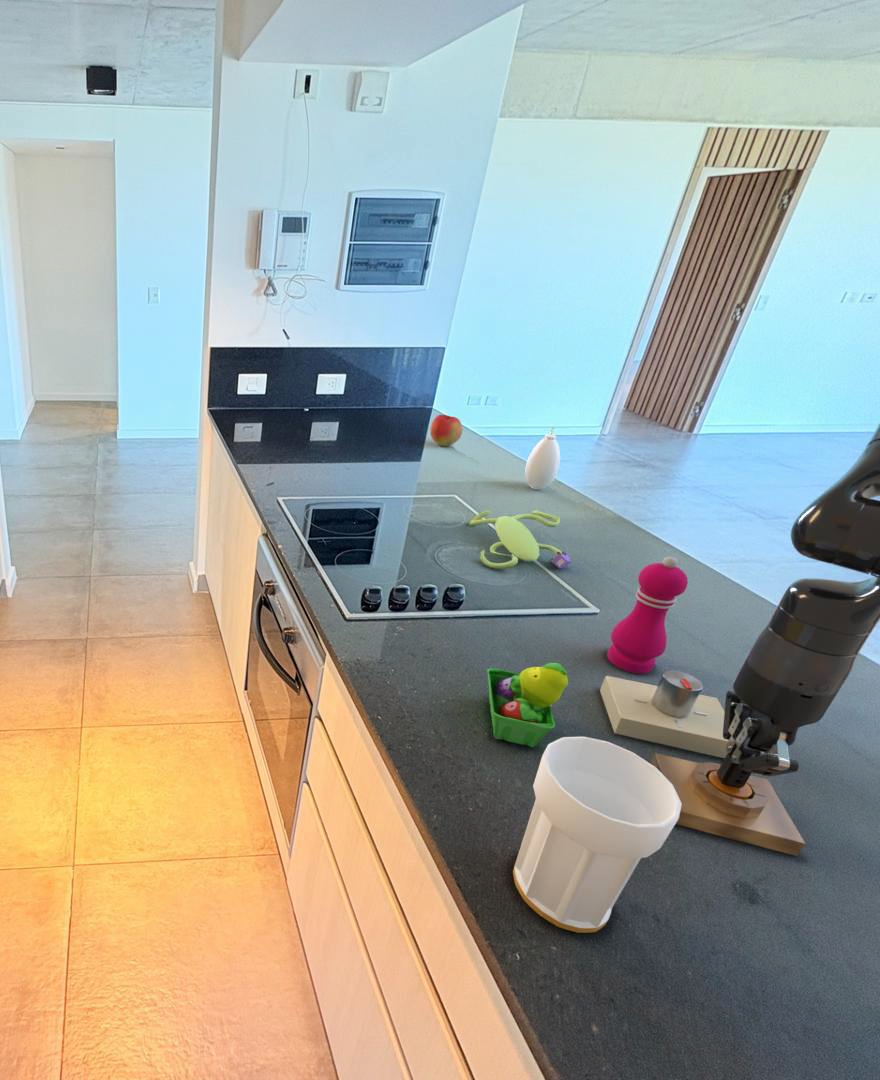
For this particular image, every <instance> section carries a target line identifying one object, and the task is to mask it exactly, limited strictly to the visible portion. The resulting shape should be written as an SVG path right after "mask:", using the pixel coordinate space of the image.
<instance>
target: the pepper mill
mask: <svg viewBox="0 0 880 1080" xmlns="http://www.w3.org/2000/svg"><path fill="white" fill-rule="evenodd" d="M678 564H679V563H678V559H677V558H676V557H674V556H666V557H663V560H662V562H654V563H651V564H648V565H646V566H644V568H642V570H641V571H640V572H639V574H638V577H637V581H638V584H639V587H638V588H637V589H636V590H637V592H636V593H635V595H634V596H635V598H636V603H635V605H634V607H633V609H632V610H631V612H630V613H629V614H628V615H627V616H626V617H625V618H622V619H621V620H620V621H619V622H618V623H617V624H616V625H615V626H614V628H613V629H612V632H611V633H610V640H611V643H612V644H611V645H610V646H609V649H608V651H607V654H606V657H607V659H608V661H609V662H610V663H611V664H612V665H614V666H615V667H617V668H619V669H621V670H623V671H625V672H629V673H633V674H638V675H639V674H641V675H643V674H648V673H650V672H652V670H653V669H654V666H655V664H656V659H657V658H659V657H661V656H662V655H663V654H664V653H665V650H666V647H667V632H666V627H665V625H666V616H667V613H668V611H669V609H673V608H674V607H675V604H676V602H677V600H678V599H677V597H679V596H680V595H682V594H684V593H685V592H686V590H687V588H688V584H689V583H688V582H689V581H688V576H687V574H686V573H685V571H684V570H683V569H681V568H679V567H678Z"/></svg>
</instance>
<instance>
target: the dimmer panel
mask: <svg viewBox="0 0 880 1080" xmlns="http://www.w3.org/2000/svg"><path fill="white" fill-rule="evenodd" d="M657 687H658V685H655V684H649V683H646V682H645V683H644V682H639V681H634V680H631V679H624V678H620V677H614V676H610V675H605V676H604V679H603V682H602V684H601V687H600V690H599V692H600V695H601V698H602V701H603V704H604V707H605V709H606V713H607V715H608V718H609V721H610V724H611V727H612V730H613V733H614V734H616V735H619V736H624V737H628V738H632V739H633V738H634V739H637V740H641V741H647V742H650V743H654V744H659V745H664V746H668V747H672V748H677V749H681V750H686V751H690V752H694V753H698V754H699V753H700V754H704V755H708V756H713V757H717V758H722V759H725V757H726V755H727V754H728V753H727V752H726V745H727V743H728V741H729V740H727V739H724V738H723V724H724V713H725V708H723V706H722V704H721V702H720V701H719V699H718V698H717V697H715V696H709V695H703V694H699V696H698V698H697V700H696V702H695V704H694V706H693V708H692V710H691V712H690V714H689V716H687V717H685V718H678V717H673V716H669V715H667V714H665V713H663V712H661V711H659V710H658V709H656V708H655V707H654V706H653V704H652V698H653V696H654V694H655V692H656V689H657Z"/></svg>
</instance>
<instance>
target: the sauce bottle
mask: <svg viewBox="0 0 880 1080" xmlns="http://www.w3.org/2000/svg"><path fill="white" fill-rule="evenodd" d="M554 428H555V425H553V426H552V427H551V430H550V433H547V434H545V435H544V438H542V439H541V440H540V441H538V442H537V444H536V445H535V446H534V447H533V448H532V450H531V452H530V454H529V455H528V458H527V460H526V463H525V467H524V478H525V482H526V484H527V485H528V486H529V487H530V488H532V489H533V490H536V491H537V490H543V489H544V488H547V487H549V486H550V485H551V484H552V483H553V482H554V481H555V478H556V477H557V475H558V472H559V469H560V464H561V451H560V446H559V442H558V440H557V435H555V434H554V430H555V429H554Z"/></svg>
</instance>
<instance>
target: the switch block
mask: <svg viewBox="0 0 880 1080" xmlns="http://www.w3.org/2000/svg"><path fill="white" fill-rule="evenodd" d="M649 763H650V764H651V765H653V766H655V767H656V768H657V769H658V770H659V771H660V772H661V773H662V774H663V775H664V776H665V777H666V778H667V779H668V781H669V782H670V783H671V784H672V785H673V786H674V789H675V791H676V793H677V795H678V797H679V799H680V801H681V803H682V806H681V810H680V815H679V819H678V821H677V822H676V824H675V825H677V826H681V827H685V828H688V829H692V830H696V831H699V832H703V833H708V834H712V835H715V836H719V837H723V838H726V839H730V840H735V841H737V842H741V843H746V844H748V845H749V844H750V845H753V846H756V847H761V848H764V849H768V850H771V851H772V850H773V851H775V852H780V853H783V854H786V855H790V856H795V857H798V855H799V854H800V853H801V852H802V850H803V848H804V847H805V846H806V842H805V840H804V839H803V837H802V835H801V833H800V832H799V830H798V828H797V826H796V825H795V823H794V822H793V820H792V818H791V816H790V814H789V813H788V811H787V809H786V808H785V807H784V804H783V803H782V801H781V799H780V798H779V796H778V794H777V793H776V791H775V789H774V787H773V786H772V784H771V782H770V781H769V779H767V778H765V777H760V776H755V775H752V774H751V775H750V777H749V779H748V780H747V782H746V783H747V784H748V785H749V786H750V788H751V790H752V794H751V796H750V797H749V799H746V800H742V799H738V798H734V797H730V796H728V795H726V794H724V793H722V792H720V791H718V790H717V789H716V788H715V787H714V786H713V785H711V784H710V783H709V781H708V779H707V778H708V776H709V774H710V773H711V772H713V771H718V770H719V768H720V766H721V764H722V763H721V764H720V763H716V762H712V761H708V762H696V761H692V760H687V759H683V758H678V757H675V756H670V755H667V754H661V753H657V752H654V753H653V756H652V757H651V760H650V762H649Z"/></svg>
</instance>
